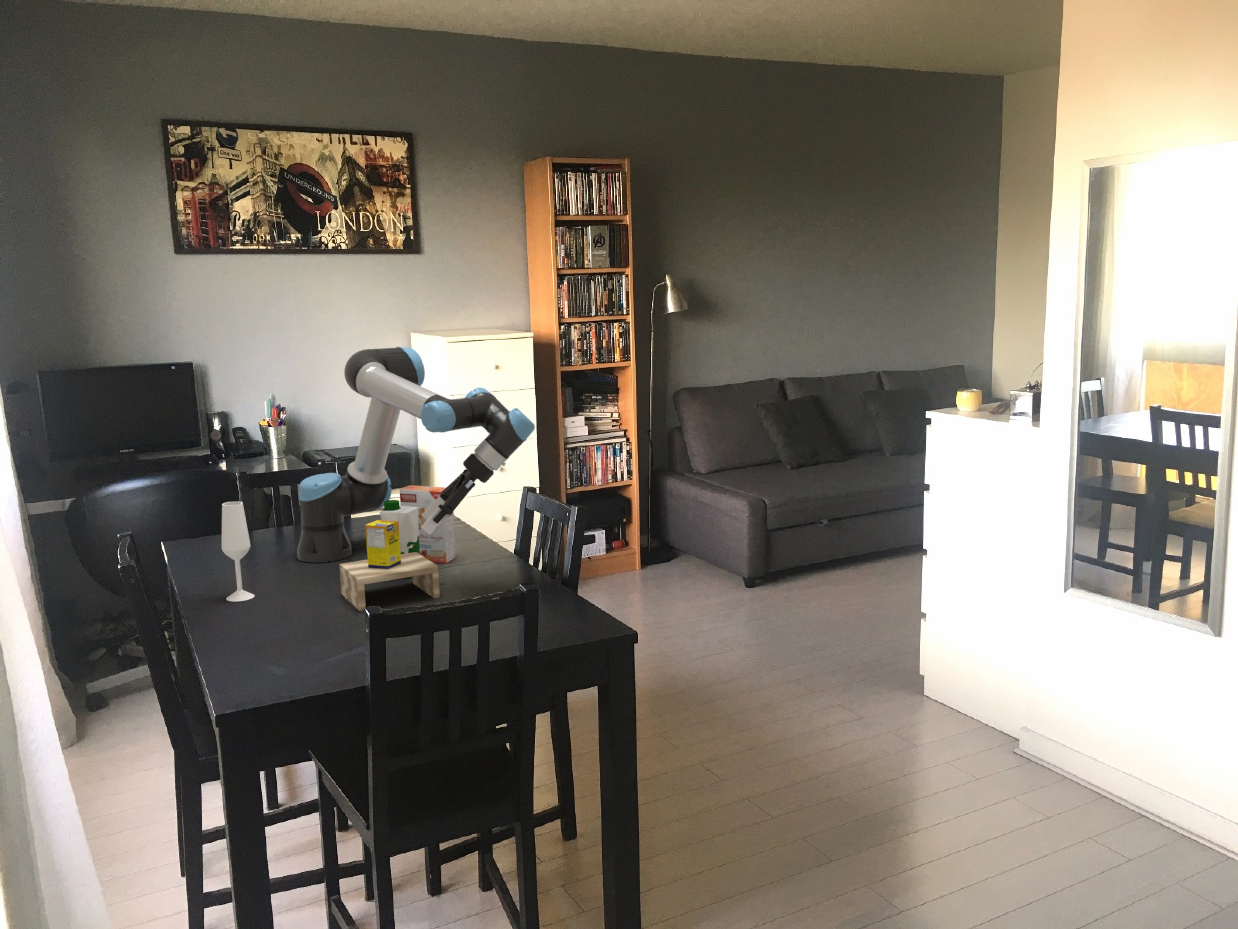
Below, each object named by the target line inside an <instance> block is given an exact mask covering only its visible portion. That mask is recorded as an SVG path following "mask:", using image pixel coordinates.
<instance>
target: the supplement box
mask: <svg viewBox="0 0 1238 929" xmlns="http://www.w3.org/2000/svg"><path fill="white" fill-rule="evenodd" d="M365 538H366V540H365V541H366V552H367V553H366V555H367V560H368V567H371V568H385V569H390V568H392V567H394V566H396V565H398V564H400V563H401V553H400V537H399V521H390V520H381V519H377V520H374V521H372V522H369V523H367V524H365Z"/></svg>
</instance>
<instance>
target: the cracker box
mask: <svg viewBox="0 0 1238 929" xmlns="http://www.w3.org/2000/svg"><path fill="white" fill-rule="evenodd" d="M445 488H446V486H445V487H442V486H430V485H429V486H428V485H413V484H412V485H411V484H410V485H407V486H403V487H402V488H400V489H399V504H400V506H410V507H419V509H418V526H419V546H420V555H422V556H423V557H425V558H426V559H428V560H429V561H431V562H432V563H434V564H436V563H437V564H444V565H445V564H448V563H450V562H452V561H454V560H455V559H456V557H457V556H456V538H455V536H456V535H455V534H456V532H455V513H454V512H455V510H454V511H453V513H452V514H451V515H448V516H447V517H446V518H445V519H444V520H443V521H442V522H441V523H440V524H439V525H438V526H437V528H436V529H435V530H434V531H433V532H432V533H431V534H430V535H429V534H428V533H427V532H425V531H424V530H423V529H422V528H421V527H422V526H423V524H424V523H425V522H426V521H427V520H426V519H425V518H424V517H423V516H422V514H423V513H424V512H425V511H426V510H427V509H428V508H429V507H430V506H431V505H432V503H433V502H434V501H435V500H436V499H437V498H438V497H439V496H440V494H441V493H442V491H443V490H444V489H445Z"/></svg>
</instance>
